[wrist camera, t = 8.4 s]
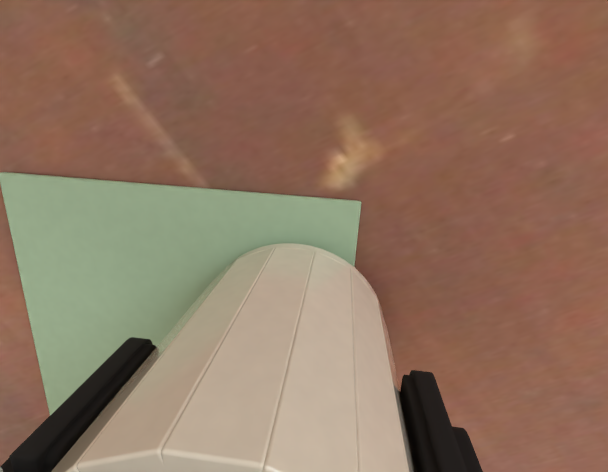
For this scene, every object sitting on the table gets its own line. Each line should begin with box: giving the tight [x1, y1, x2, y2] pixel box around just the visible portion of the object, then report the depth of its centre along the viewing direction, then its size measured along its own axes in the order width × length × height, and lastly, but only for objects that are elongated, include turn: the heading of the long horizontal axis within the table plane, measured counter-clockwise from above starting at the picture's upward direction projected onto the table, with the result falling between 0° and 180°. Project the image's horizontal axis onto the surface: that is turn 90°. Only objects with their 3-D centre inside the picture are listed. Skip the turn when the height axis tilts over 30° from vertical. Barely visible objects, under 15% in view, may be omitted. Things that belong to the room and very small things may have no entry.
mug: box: [51, 243, 416, 472], centre depth 10 cm, size 10×7×8 cm
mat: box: [0, 172, 361, 415], centre depth 15 cm, size 14×14×1 cm
